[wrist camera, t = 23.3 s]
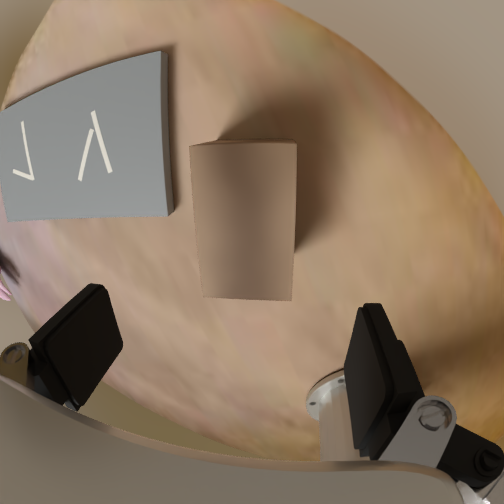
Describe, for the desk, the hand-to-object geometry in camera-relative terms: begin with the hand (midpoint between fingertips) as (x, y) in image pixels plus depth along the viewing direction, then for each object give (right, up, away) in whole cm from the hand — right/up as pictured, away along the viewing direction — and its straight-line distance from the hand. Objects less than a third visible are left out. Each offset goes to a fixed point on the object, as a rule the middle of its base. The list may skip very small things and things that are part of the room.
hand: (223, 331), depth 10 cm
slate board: (-18, +13, +13) cm, 25 cm away
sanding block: (+1, +7, +13) cm, 15 cm away
